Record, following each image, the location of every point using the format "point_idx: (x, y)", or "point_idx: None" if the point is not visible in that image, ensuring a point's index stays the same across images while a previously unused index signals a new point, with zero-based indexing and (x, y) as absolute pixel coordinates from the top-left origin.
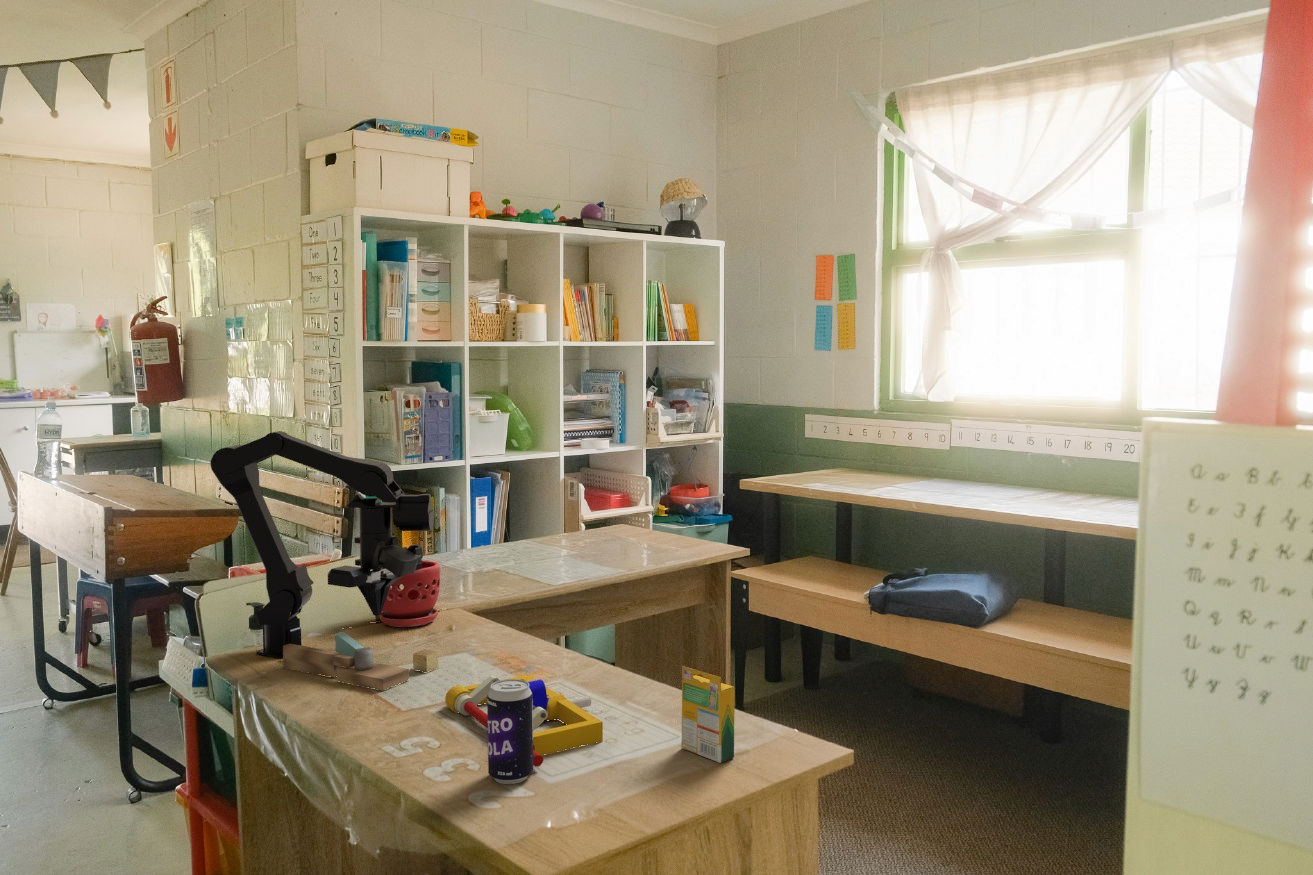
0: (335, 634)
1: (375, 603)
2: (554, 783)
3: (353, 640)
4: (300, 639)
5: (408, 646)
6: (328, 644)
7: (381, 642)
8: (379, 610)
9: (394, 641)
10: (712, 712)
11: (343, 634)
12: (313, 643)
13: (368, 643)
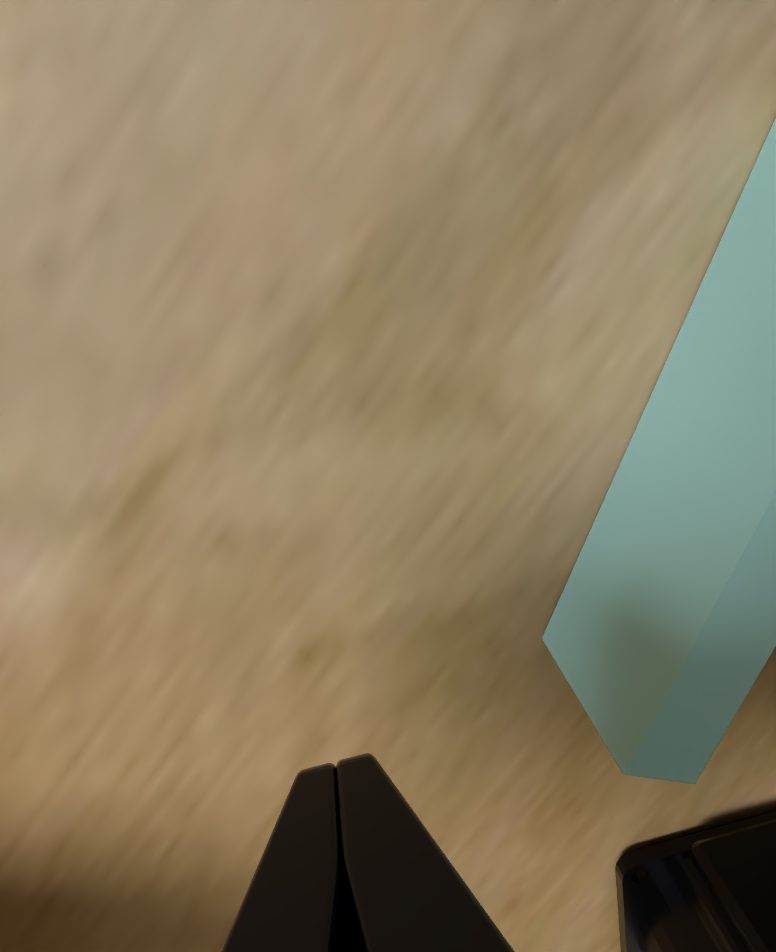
0: (695, 766)
1: (504, 945)
2: None
3: None
4: (747, 906)
5: (16, 427)
6: None
7: (149, 701)
8: (354, 813)
9: (40, 655)
10: None
11: (687, 702)
12: None
13: (245, 741)
